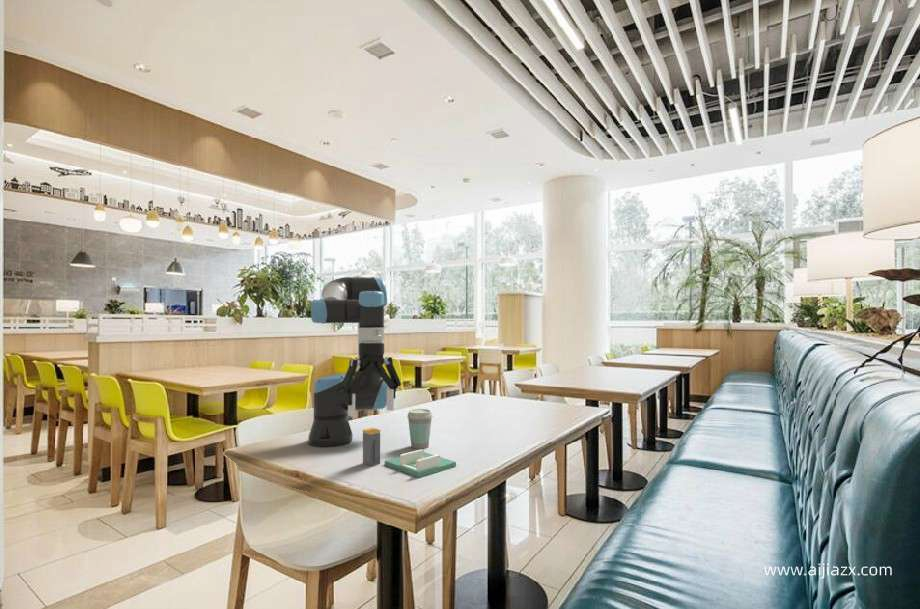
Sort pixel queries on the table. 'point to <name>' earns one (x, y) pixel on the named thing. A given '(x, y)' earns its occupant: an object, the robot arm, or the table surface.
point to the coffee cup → (419, 427)
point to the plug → (371, 446)
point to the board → (420, 463)
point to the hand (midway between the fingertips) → (371, 413)
